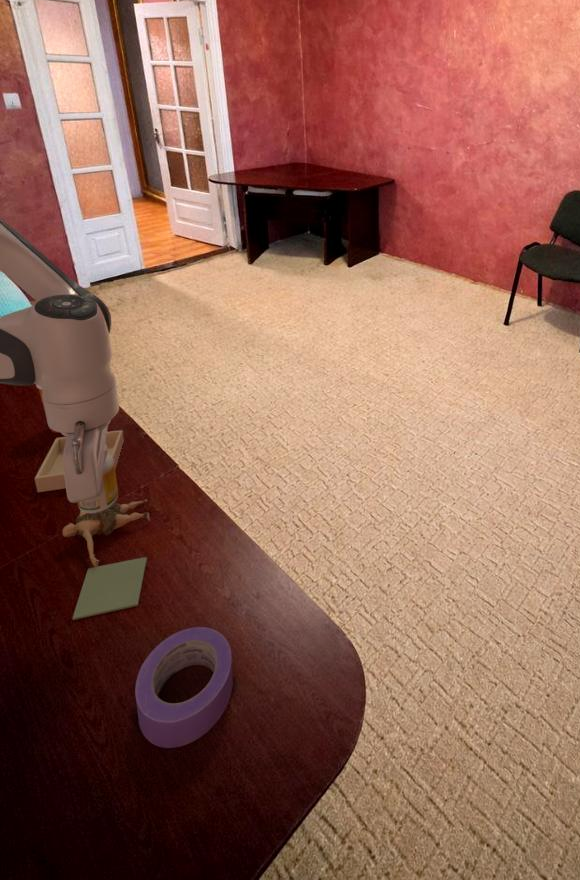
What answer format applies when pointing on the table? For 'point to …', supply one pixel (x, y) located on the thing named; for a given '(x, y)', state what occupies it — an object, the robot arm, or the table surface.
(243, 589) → the table surface
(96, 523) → the figurine
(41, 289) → the robot arm
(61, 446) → the tray
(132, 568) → the mat
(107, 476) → the supplement bottle
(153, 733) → the tape roll
